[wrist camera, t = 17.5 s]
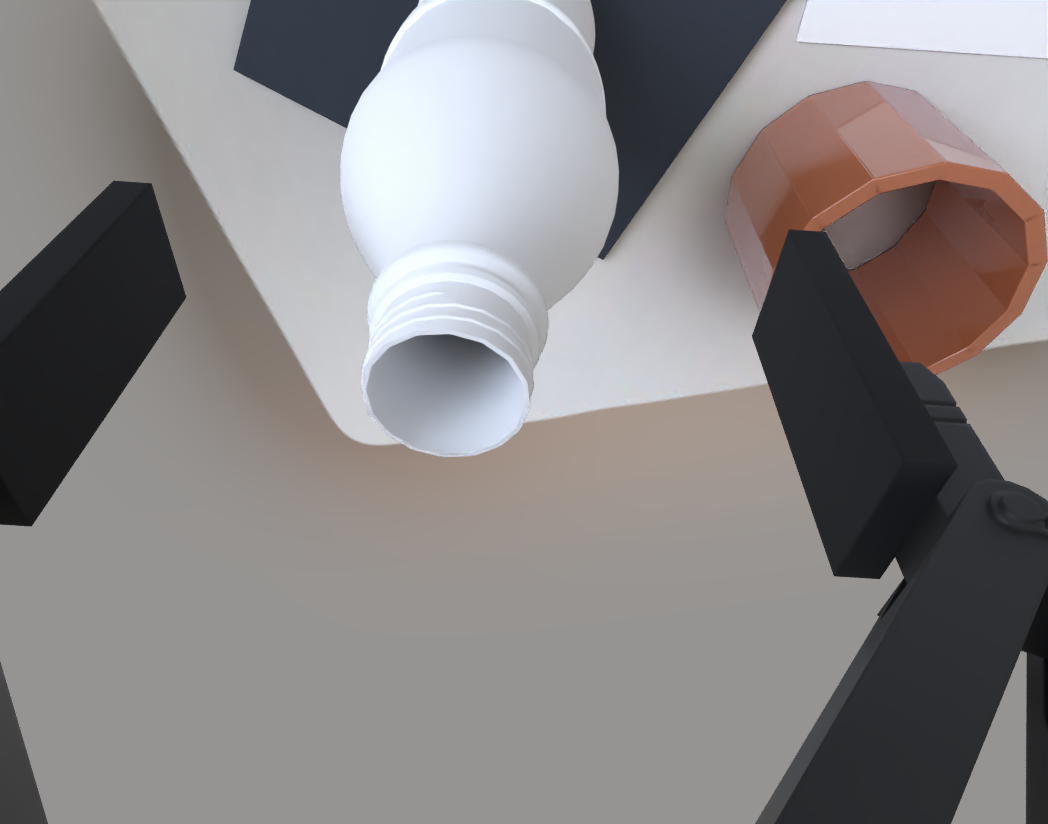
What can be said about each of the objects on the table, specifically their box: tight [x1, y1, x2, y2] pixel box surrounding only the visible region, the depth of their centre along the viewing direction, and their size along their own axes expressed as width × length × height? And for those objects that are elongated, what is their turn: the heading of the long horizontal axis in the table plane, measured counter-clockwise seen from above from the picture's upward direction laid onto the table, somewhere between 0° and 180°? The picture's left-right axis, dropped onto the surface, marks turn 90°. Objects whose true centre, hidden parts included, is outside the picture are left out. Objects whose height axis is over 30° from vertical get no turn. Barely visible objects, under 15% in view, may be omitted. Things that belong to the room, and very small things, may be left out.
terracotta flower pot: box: [725, 81, 1047, 375], centre depth 33 cm, size 11×11×9 cm
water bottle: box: [340, 0, 619, 457], centre depth 22 cm, size 7×7×25 cm
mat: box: [234, 0, 786, 260], centre depth 31 cm, size 20×16×1 cm
